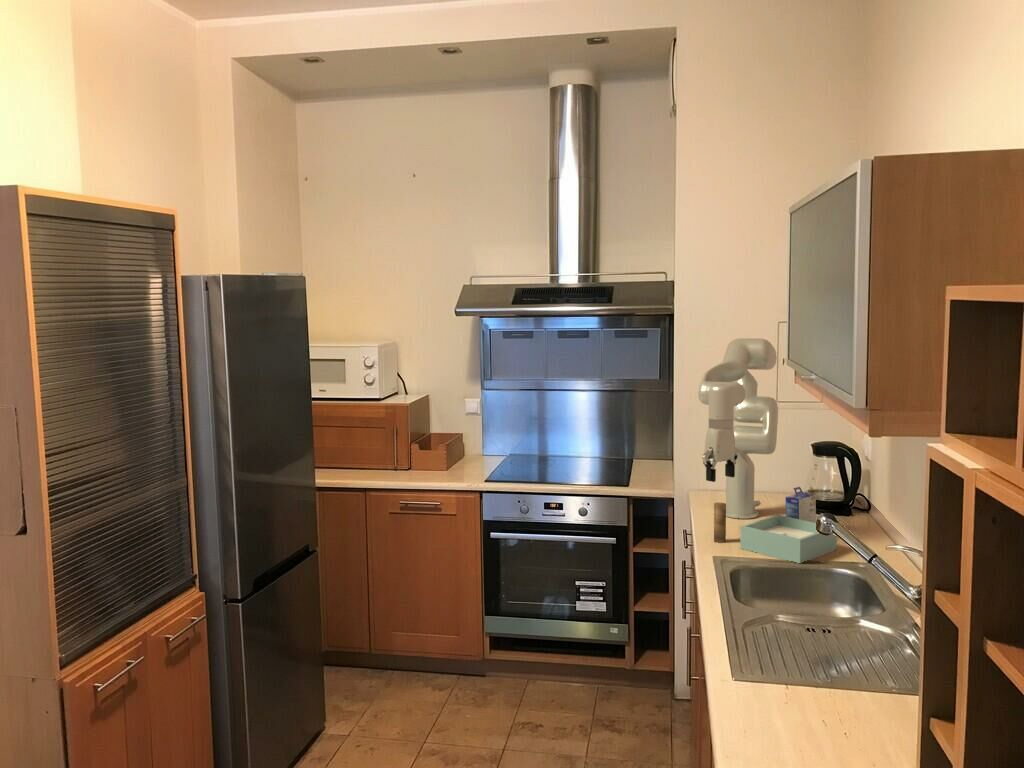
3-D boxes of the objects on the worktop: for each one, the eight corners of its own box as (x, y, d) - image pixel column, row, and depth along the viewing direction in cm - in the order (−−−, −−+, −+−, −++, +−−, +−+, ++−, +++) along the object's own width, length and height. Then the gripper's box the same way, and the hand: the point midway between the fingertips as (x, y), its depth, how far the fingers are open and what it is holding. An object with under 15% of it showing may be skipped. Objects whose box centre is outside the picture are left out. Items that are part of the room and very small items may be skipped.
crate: (777, 536, 264) (777, 514, 264) (836, 549, 249) (836, 527, 248) (740, 548, 252) (740, 526, 251) (799, 563, 236) (800, 540, 236)
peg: (718, 539, 263) (718, 501, 261) (728, 541, 260) (728, 503, 259) (711, 541, 260) (711, 503, 259) (721, 543, 257) (721, 505, 256)
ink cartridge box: (801, 527, 275) (802, 484, 273) (816, 530, 270) (817, 487, 269) (784, 532, 268) (784, 489, 267) (799, 536, 264) (800, 491, 263)
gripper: (727, 420, 265) (727, 473, 266) (693, 426, 254) (693, 481, 255) (747, 422, 259) (747, 476, 261) (713, 428, 248) (713, 484, 250)
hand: (720, 478), depth 258 cm, fingers open, 9 cm apart
